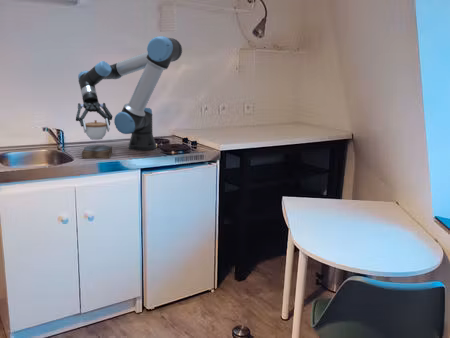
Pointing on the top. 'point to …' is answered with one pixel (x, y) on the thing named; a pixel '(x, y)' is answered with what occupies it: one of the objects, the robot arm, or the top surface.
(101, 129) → the lidded jar
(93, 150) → the dish stand
